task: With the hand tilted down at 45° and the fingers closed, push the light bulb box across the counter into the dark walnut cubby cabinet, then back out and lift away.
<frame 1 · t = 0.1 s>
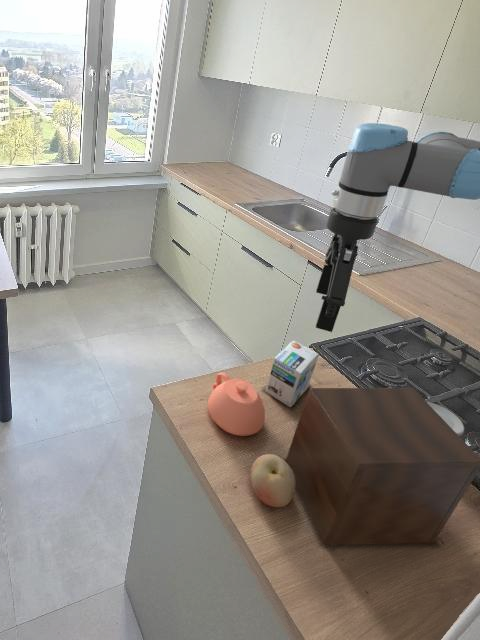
hand: (323, 310, 83), 31 cm above the counter, tool pointing down, fingers open, 13 cm apart
light bulb box: (286, 389, 104), on the counter
sugar bowl: (231, 416, 96), on the counter
cubby: (353, 500, 79), on the counter
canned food: (420, 454, 89), on the counter
fruit: (267, 494, 80), on the counter
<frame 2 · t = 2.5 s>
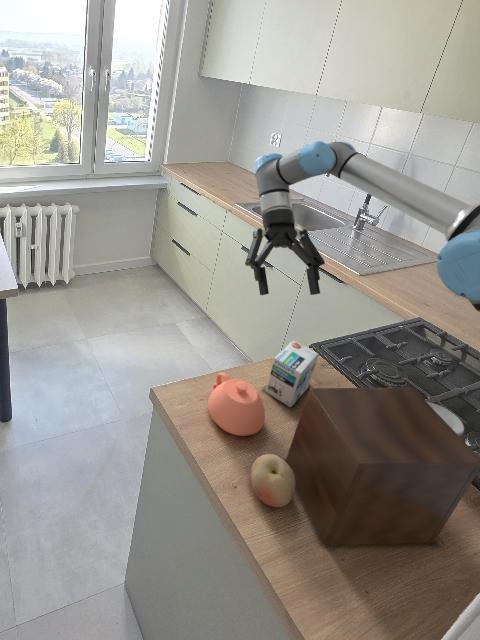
hand: (290, 294, 102), 23 cm above the counter, tool tilted 40°, fingers open, 13 cm apart
nothing on the counter moved.
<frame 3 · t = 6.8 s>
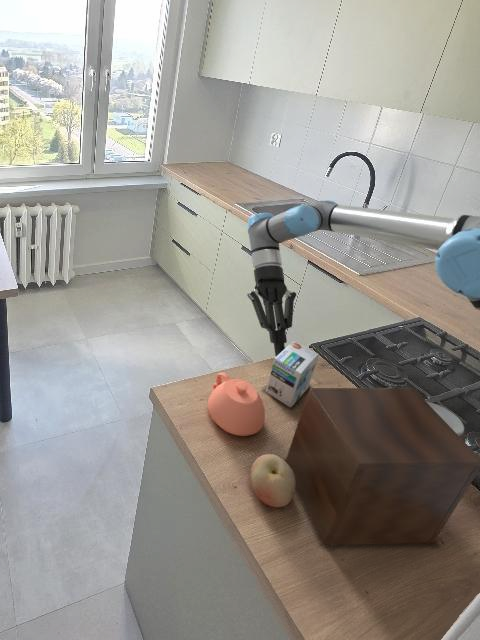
hand: (280, 356, 108), 5 cm above the counter, tool tilted 45°, fingers closed
light bulb box: (286, 390, 104), on the counter, touching gripper
everything else where it was.
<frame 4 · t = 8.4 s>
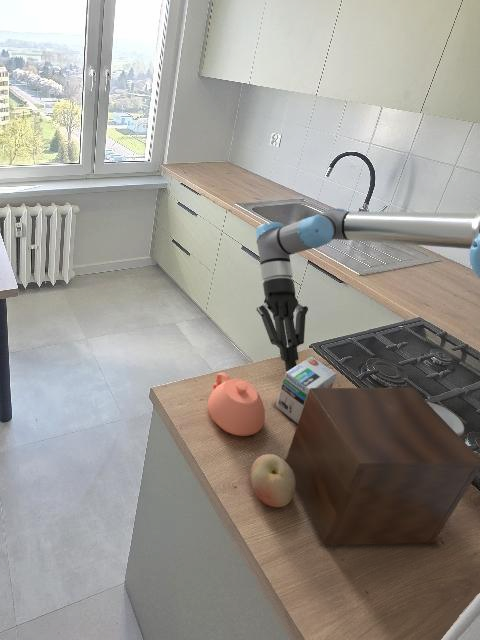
hand: (292, 374, 102), 5 cm above the counter, tool tilted 45°, fingers closed
light bulb box: (300, 407, 99), on the counter, touching gripper
everything else where it was.
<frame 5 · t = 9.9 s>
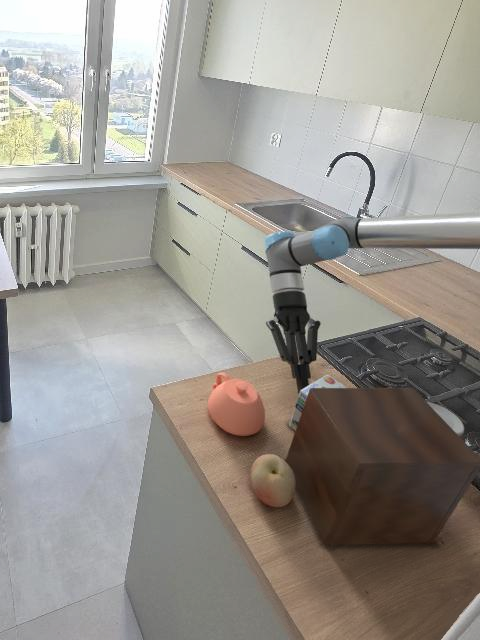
hand: (304, 393, 96), 5 cm above the counter, tool tilted 45°, fingers closed
light bulb box: (314, 427, 94), on the counter, touching gripper
everything else where it was.
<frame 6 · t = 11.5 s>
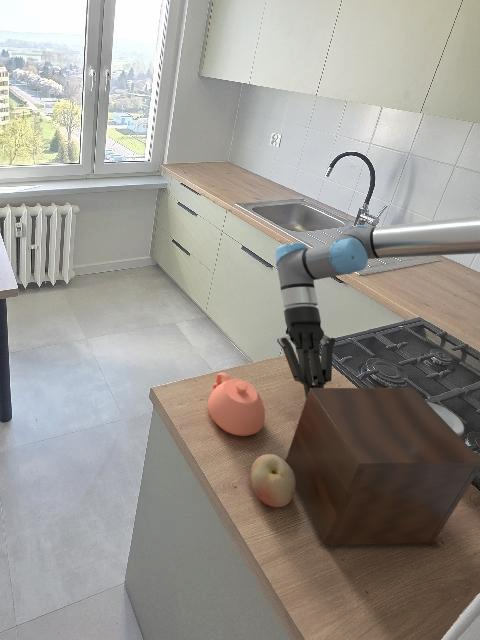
hand: (318, 416, 91), 5 cm above the counter, tool tilted 45°, fingers closed
light bulb box: (332, 451, 89), on the counter, touching gripper
everything else where it was.
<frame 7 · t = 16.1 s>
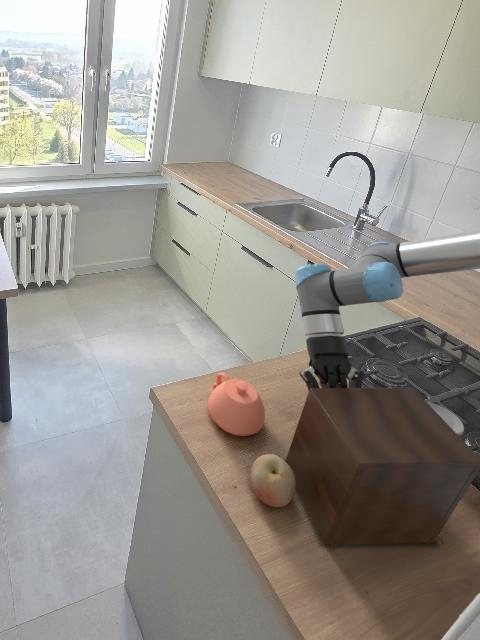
hand: (348, 461, 81), 5 cm above the counter, tool tilted 45°, fingers closed
light bulb box: (368, 496, 80), resting in cubby
everything else where it was.
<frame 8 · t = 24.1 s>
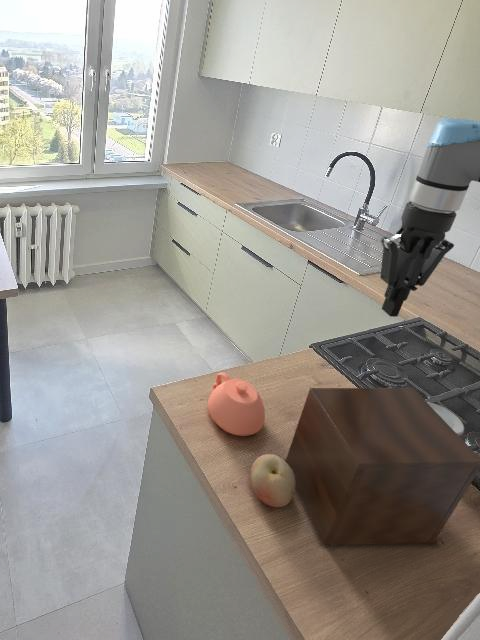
hand: (389, 312, 86), 29 cm above the counter, tool pointing down, fingers closed
nothing on the counter moved.
at the end: light bulb box inside the target area on the cubby (3.8 cm from its centre), point 0.0 cm above the cubby's base; light bulb box tilted 0° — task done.
